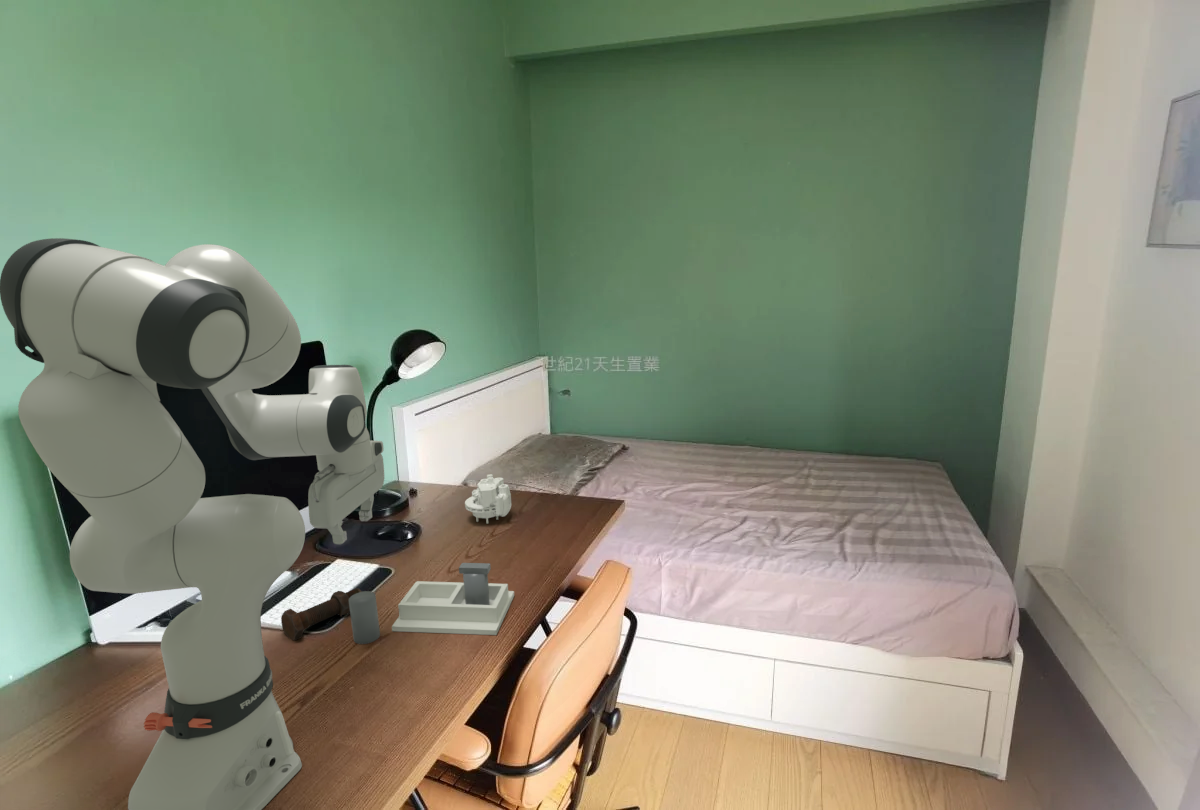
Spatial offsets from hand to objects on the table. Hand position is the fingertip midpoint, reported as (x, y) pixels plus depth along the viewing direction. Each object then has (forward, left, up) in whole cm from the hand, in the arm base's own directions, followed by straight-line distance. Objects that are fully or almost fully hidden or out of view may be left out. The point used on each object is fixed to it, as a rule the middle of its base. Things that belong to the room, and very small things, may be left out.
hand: (353, 530), depth 112 cm
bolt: (+5, +10, -22) cm, 24 cm away
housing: (+9, -14, -21) cm, 27 cm away
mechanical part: (+54, -8, -21) cm, 59 cm away
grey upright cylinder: (0, 0, -21) cm, 21 cm away
